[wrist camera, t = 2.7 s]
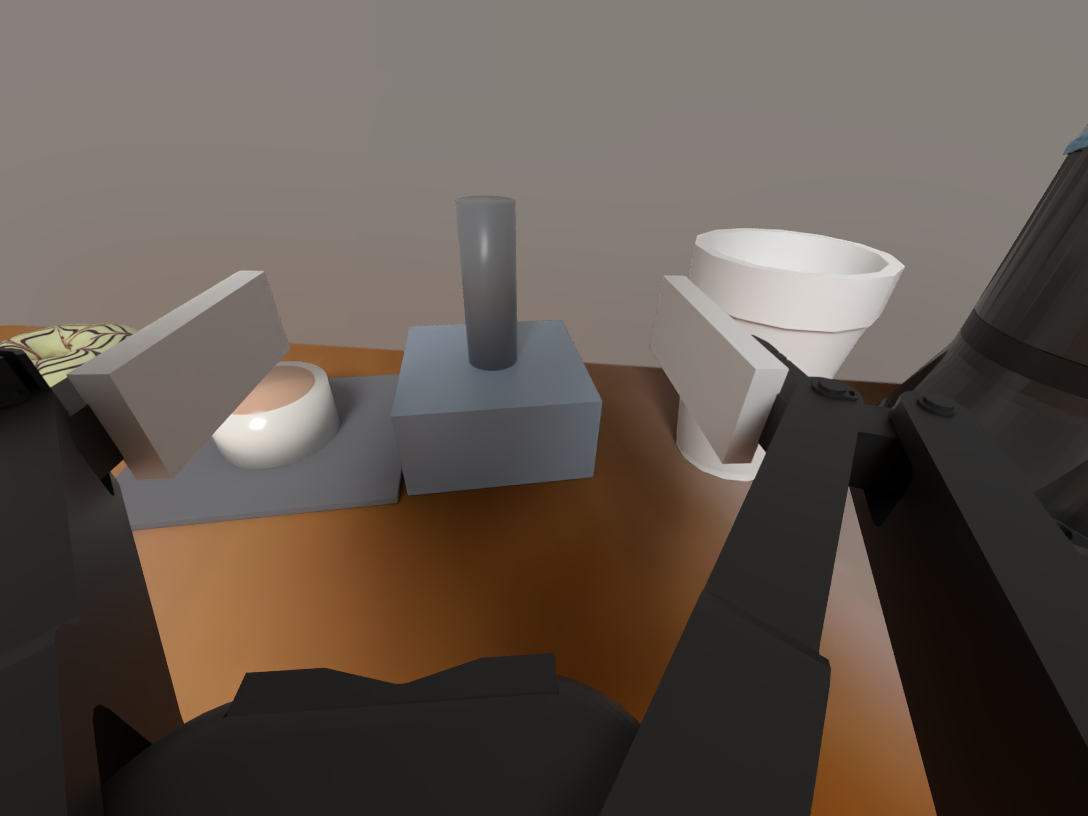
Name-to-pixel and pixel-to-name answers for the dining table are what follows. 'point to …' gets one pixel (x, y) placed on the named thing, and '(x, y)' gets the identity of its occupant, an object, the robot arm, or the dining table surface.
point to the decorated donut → (67, 346)
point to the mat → (284, 471)
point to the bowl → (280, 419)
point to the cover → (492, 380)
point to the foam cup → (787, 307)
